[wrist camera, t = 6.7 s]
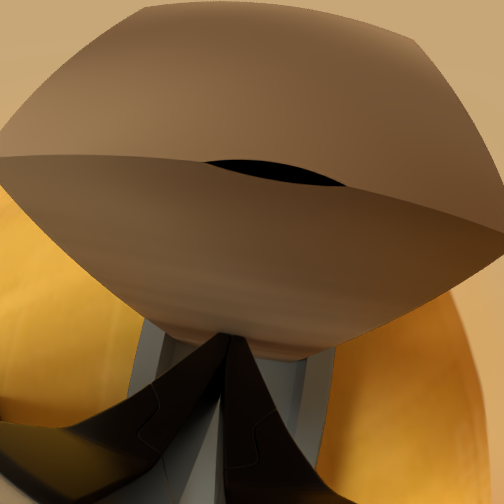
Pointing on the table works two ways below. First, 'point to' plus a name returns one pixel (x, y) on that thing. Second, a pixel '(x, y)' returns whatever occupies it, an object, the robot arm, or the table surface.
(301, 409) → the chute
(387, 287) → the block
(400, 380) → the table surface
